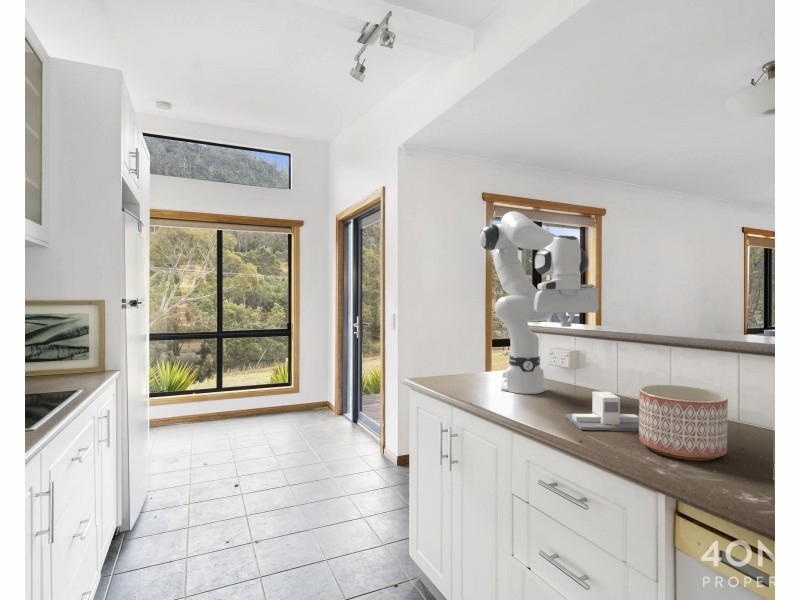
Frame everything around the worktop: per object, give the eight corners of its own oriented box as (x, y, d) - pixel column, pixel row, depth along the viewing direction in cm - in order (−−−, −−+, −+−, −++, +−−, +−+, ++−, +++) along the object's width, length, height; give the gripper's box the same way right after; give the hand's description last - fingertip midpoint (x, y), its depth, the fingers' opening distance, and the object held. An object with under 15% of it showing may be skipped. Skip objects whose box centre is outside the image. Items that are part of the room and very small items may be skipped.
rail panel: (565, 416, 146) (565, 409, 146) (627, 417, 145) (628, 409, 145) (581, 430, 132) (581, 422, 132) (650, 431, 131) (650, 422, 131)
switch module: (592, 416, 142) (592, 391, 142) (608, 416, 142) (608, 391, 142) (602, 424, 134) (603, 397, 134) (619, 424, 134) (620, 397, 134)
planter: (650, 432, 130) (651, 381, 129) (732, 449, 116) (733, 392, 116) (628, 450, 116) (629, 393, 115) (719, 470, 102) (720, 406, 102)
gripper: (594, 284, 150) (594, 325, 151) (532, 284, 151) (532, 325, 151) (602, 284, 144) (601, 327, 144) (537, 284, 145) (537, 327, 145)
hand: (565, 326), depth 148 cm, fingers closed
